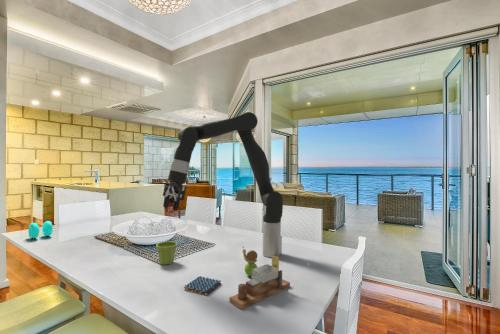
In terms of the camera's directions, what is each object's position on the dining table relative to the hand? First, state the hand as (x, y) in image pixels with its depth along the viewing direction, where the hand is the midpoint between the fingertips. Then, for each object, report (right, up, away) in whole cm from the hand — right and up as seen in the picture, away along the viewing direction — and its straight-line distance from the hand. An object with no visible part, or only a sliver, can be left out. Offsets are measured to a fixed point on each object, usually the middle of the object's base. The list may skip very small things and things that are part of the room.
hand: (170, 208), depth 105 cm
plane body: (+38, -27, -18) cm, 50 cm away
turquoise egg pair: (-97, -27, +49) cm, 112 cm away
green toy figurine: (+34, -28, -3) cm, 44 cm away
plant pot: (-5, -27, +11) cm, 30 cm away
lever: (+43, -21, -13) cm, 50 cm away
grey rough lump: (+39, -22, -17) cm, 48 cm away
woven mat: (+16, -28, -13) cm, 35 cm away
